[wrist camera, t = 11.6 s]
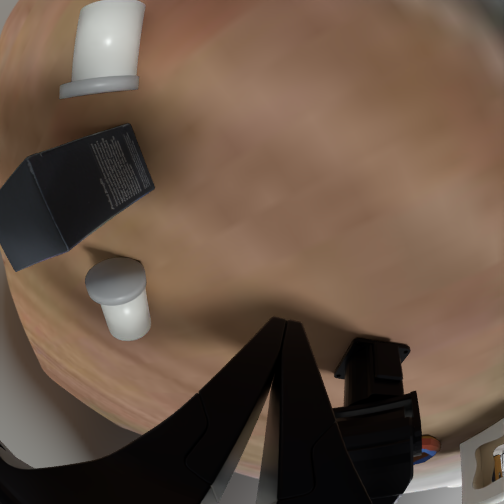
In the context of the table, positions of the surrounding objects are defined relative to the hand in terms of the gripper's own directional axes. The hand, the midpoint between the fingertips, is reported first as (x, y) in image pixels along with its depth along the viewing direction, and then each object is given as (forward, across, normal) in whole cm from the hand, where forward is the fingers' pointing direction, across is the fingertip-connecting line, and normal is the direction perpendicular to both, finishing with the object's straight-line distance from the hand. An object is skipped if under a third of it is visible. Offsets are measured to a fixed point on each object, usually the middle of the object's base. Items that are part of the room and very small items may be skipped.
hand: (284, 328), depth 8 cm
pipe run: (+13, +15, +1) cm, 20 cm away
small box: (+13, +18, +1) cm, 22 cm away
